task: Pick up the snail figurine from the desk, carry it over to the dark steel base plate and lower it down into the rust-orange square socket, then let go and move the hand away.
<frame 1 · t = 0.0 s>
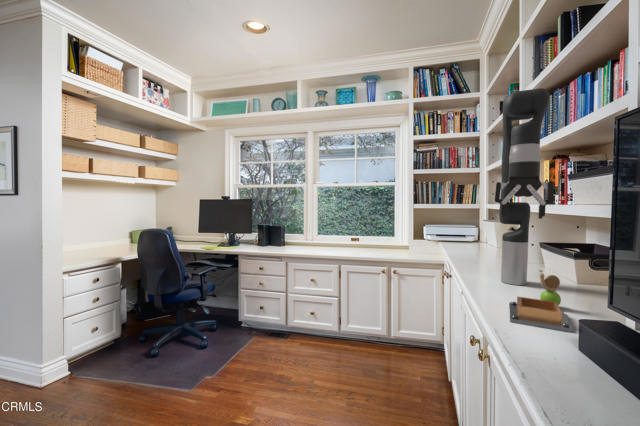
hand: (522, 218, 93), 29 cm above the worktop, tool pointing down, fingers open, 8 cm apart
snail figurine: (548, 307, 104), on the worktop
socket plate: (537, 317, 94), on the worktop
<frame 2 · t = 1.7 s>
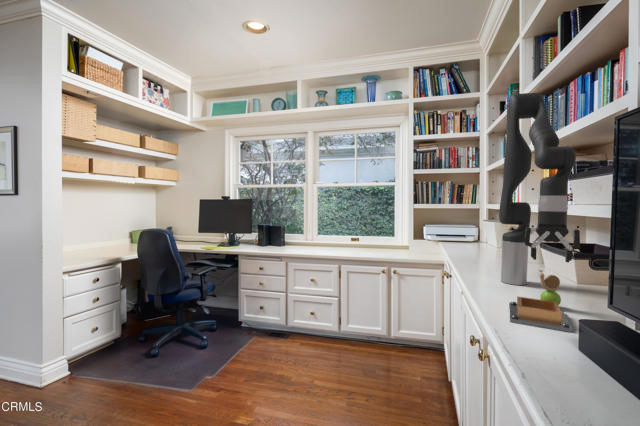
hand: (550, 260, 103), 15 cm above the worktop, tool pointing down, fingers open, 8 cm apart
nothing on the worktop moved.
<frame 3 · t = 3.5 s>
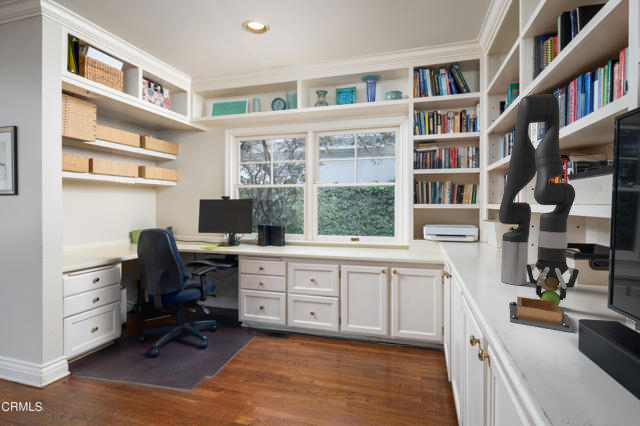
hand: (550, 297, 103), 3 cm above the worktop, tool pointing down, fingers closed on snail figurine, 5 cm apart
snail figurine: (548, 307, 104), on the worktop, touching gripper
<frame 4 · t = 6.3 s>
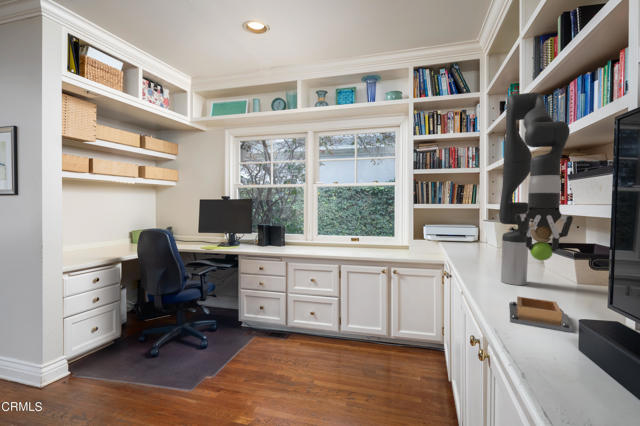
hand: (541, 250, 93), 20 cm above the worktop, tool pointing down, fingers closed on snail figurine, 5 cm apart
snail figurine: (539, 260, 94), point 17 cm above the worktop, touching gripper
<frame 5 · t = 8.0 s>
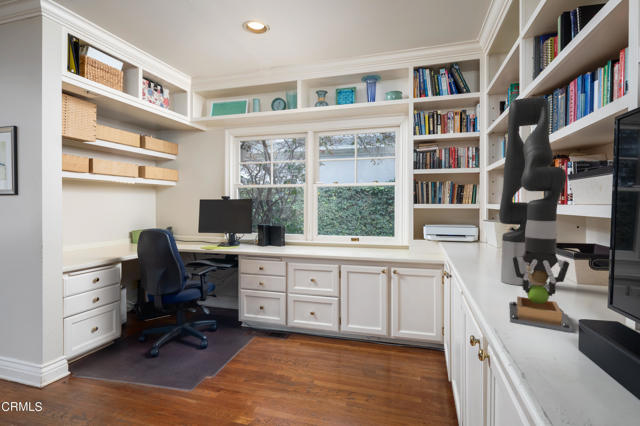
hand: (538, 293, 94), 7 cm above the worktop, tool pointing down, fingers closed on snail figurine, 5 cm apart
snail figurine: (535, 303, 94), point 4 cm above the worktop, touching gripper
when the fingers open (5 cm above the worktop, at t = 9.2 s): snail figurine stays where it is, resting on socket plate.
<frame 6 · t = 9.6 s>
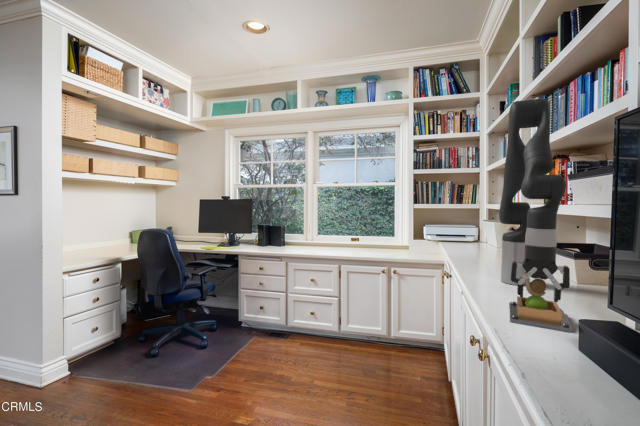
hand: (538, 298, 94), 6 cm above the worktop, tool pointing down, fingers open, 8 cm apart
snail figurine: (534, 314, 95), point 1 cm above the worktop, touching socket plate
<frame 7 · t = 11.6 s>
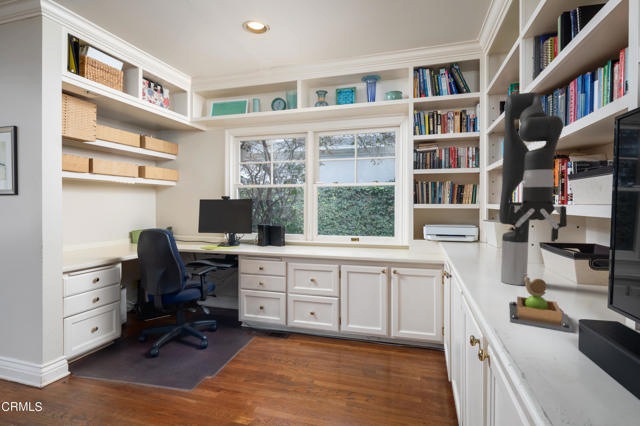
hand: (535, 240, 96), 22 cm above the worktop, tool pointing down, fingers open, 8 cm apart
nothing on the worktop moved.
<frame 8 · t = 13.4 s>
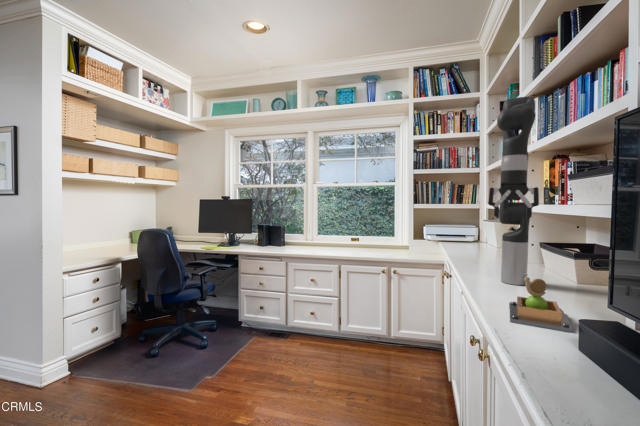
hand: (512, 218, 107), 28 cm above the worktop, tool pointing down, fingers open, 8 cm apart
nothing on the worktop moved.
at the end: snail figurine 0.8 cm off-centre on the socket plate, point 0.8 cm above the socket plate's base; snail figurine tilted 0°; the gripper is holding nothing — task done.
